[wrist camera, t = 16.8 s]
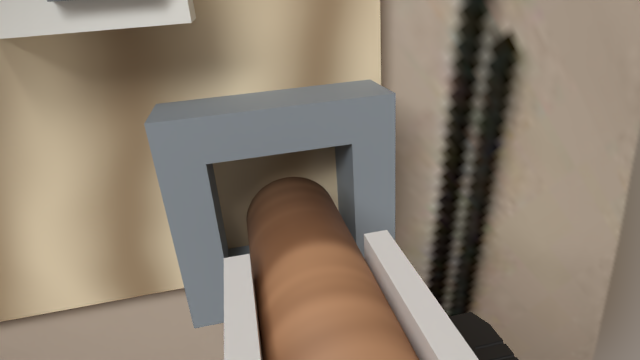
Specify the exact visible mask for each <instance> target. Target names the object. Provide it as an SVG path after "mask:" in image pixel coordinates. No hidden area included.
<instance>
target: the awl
mask: <svg viewBox="0 0 640 360" xmlns="http://www.w3.org/2000/svg"><path fill="white" fill-rule="evenodd" d="M246 221H247V231H248V241H249V250H250V259H251V266H252V272H253V278H254V286H255V295H256V304H257V313H258V322H259V331H260V340H261V349H262V358H263V360H419V358H418V356H417V355H416V353H415V351H414V349H413V347H412V345H411V343H410V342H409V340H408V338H407V336H406V334H405V332H404V331H403V329H402V327H401V325H400V323H399V321H398V320H397V318H396V316H395V314H394V312H393V310H392V309H391V307H390V305H389V303H388V301H387V299H386V297H385V296H384V294H383V292H382V290H381V288H380V286H379V285H378V283H377V281H376V279H375V277H374V275H373V274H372V272H371V270H370V268H369V266H368V264H367V262H366V261H365V259H364V257H363V255H362V253H361V251H360V250H359V248H358V246H357V244H356V242H355V240H354V239H353V237H352V235H351V233H350V231H349V229H348V227H347V226H346V224H345V222H344V220H343V218H342V216H341V215H340V213H339V211H338V209H337V207H336V205H335V204H334V202H333V200H332V198H331V196H330V195H329V193H328V192H327V191H326V190H325V188H323V187H322V186H321V185H320V184H318V183H317V182H315V181H313V180H310V179H307V178H303V177H286V178H281V179H278V180H275V181H273V182H271V183H269V184H268V185H266V186H264V187H263V188H262V189H261V190H260V191H259V192H258V193H257V194H256V195H255V196H254V198H253V199H252V201H251V203H250V205H249V208H248V211H247V219H246Z"/></svg>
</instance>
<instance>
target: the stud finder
mask: <svg viewBox="0 0 640 360" xmlns="http://www.w3.org/2000/svg"><path fill="white" fill-rule="evenodd" d="M195 19H196V14H195V9H194V3H193V0H0V39H5V38H17V37H29V36H41V35H53V34H65V33H77V32H89V31H101V30H113V29H125V28H137V27H149V26H161V25H173V24H184V23H192V22H193V21H194V20H195Z"/></svg>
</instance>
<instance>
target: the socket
mask: <svg viewBox="0 0 640 360" xmlns="http://www.w3.org/2000/svg"><path fill="white" fill-rule="evenodd" d="M144 126H145V130H146V134H147V138H148V142H149V146H150V150H151V154H152V158H153V162H154V166H155V170H156V174H157V179H158V183H159V187H160V191H161V195H162V199H163V203H164V207H165V211H166V215H167V219H168V223H169V227H170V231H171V236H172V240H173V244H174V248H175V252H176V256H177V260H178V264H179V268H180V272H181V276H182V280H183V284H184V288H185V293H186V297H187V301H188V305H189V309H190V313H191V317H192V321H193V325H194V328H199V327H204V326H209V325H214V324H219V323H224V258H228V257H233V256H239V255H245V254H250V250H249V245H248V246H242V247H236V248H230V249H228V245H227V239H226V234H225V229H224V223H223V218H222V212H221V207H220V202H219V196H218V191H217V185H216V180H215V175H214V169H213V164H212V163H219V162H226V161H233V160H241V159H248V158H255V157H262V156H269V155H276V154H284V153H291V152H298V151H305V150H312V149H320V148H327V147H334V146H335V158H336V175H337V192H338V209H339V213H340V215H341V216H342V218H343V220H344V222H345V224H346V226H347V227H348V229H349V231H350V233H351V235H352V237H353V239H354V240H355V242H356V244H357V246H358V248H359V250H360V251H361V253H362V255H363V257H364V259H365V256H364V234H366V233H372V232H378V231H383V230H387V231H388V232H389V233H390V235H391V236H392V238H393V239H394V240H395V93H394V92H392V91H390V90H388V89H387V88H385V87H383V86H381V85H379V84H378V83H376V82H374V81H372V80H370V79H369V80H360V81H352V82H343V83H334V84H325V85H317V86H308V87H299V88H290V89H282V90H273V91H264V92H255V93H247V94H238V95H229V96H220V97H212V98H203V99H194V100H185V101H177V102H168V103H159V104H156V105H155V106H154V108H153V110H152V111H151V113H150V115H149V116H148V118H147V120H146V121H145V123H144ZM250 260H251V259H250Z"/></svg>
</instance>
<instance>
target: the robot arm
mask: <svg viewBox="0 0 640 360" xmlns="http://www.w3.org/2000/svg"><path fill="white" fill-rule="evenodd" d="M364 256H365V261H366V262H367V264H368V266H369V268H370V270H371V272H372V274H373V275H374V277H375V279H376V281H377V283H378V285H379V286H380V288H381V290H382V292H383V294H384V296H385V297H386V299H387V301H388V303H389V305H390V307H391V309H392V310H393V312H394V314H395V316H396V318H397V320H398V321H399V323H400V325H401V327H402V329H403V331H404V332H405V334H406V336H407V338H408V340H409V342H410V343H411V345H412V347H413V349H414V351H415V353H416V355H417V356H418V358H419V360H518V359H517V357H516V358H515V357H514V354H513V352H512V351H511V350H510V349H509V348H508V346H507V345H506V344H504V343H503V340H502V339H501V338H500V336H499V335H498V334H497V333H496V332H495V330H494V329H493V328H492V327H491V325H490V324H488V323H487V322H485V321H484V320H482V319H481V318H479V317H478V316H476V315H475V314H473V313H472V312H469V313H464V314H459V315H455V316H450V317H448V315H447V314H446V313H445V311H444V310H443V308H442V307H441V306H440V304H439V303H438V301H437V300H436V299H435V297H434V296H433V294H432V293H431V291H430V290H429V289H428V287H427V286H426V284H425V283H424V282H423V280H422V279H421V277H420V276H419V274H418V273H417V272H416V270H415V269H414V267H413V266H412V265H411V263H410V262H409V260H408V259H407V257H406V256H405V255H404V253H403V252H402V250H401V249H400V248H399V246H398V245H397V243H396V242H395V240H394V239H393V238H392V236H391V235H390V233H389V232H388V231H387V230H383V231H378V232H372V233H366V234H364ZM224 360H263V358H262V349H261V340H260V331H259V322H258V313H257V304H256V295H255V286H254V278H253V272H252V266H251V260H250V254H245V255H239V256H233V257H228V258H224Z"/></svg>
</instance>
